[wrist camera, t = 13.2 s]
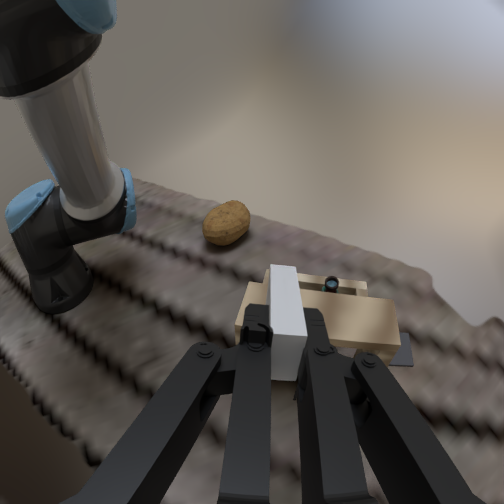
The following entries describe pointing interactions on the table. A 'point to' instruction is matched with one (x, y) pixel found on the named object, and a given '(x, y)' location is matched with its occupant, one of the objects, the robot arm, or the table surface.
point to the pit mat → (403, 352)
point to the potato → (226, 223)
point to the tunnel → (341, 314)
